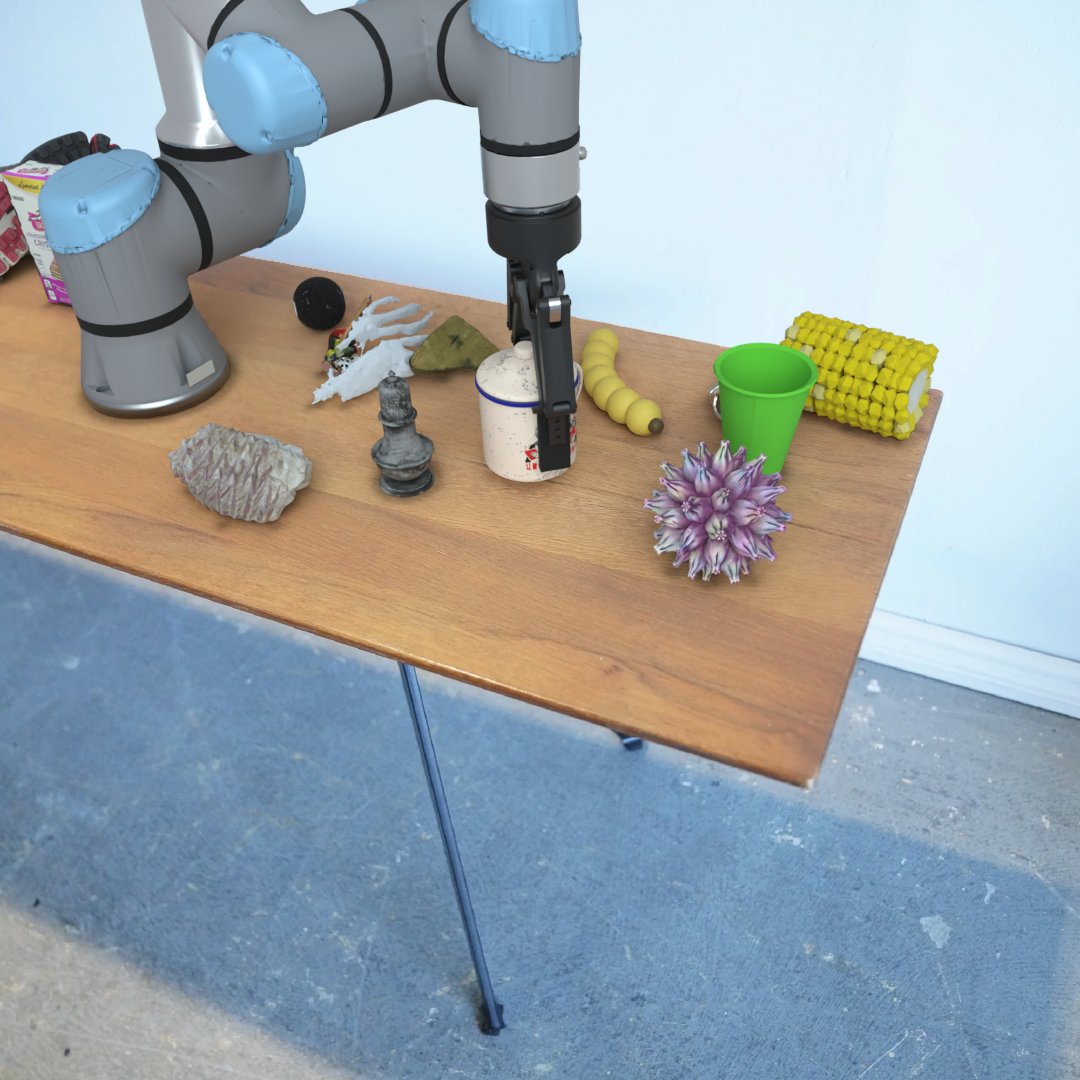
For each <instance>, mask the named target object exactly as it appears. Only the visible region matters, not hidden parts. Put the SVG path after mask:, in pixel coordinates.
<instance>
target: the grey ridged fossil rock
mask: <svg viewBox="0 0 1080 1080" xmlns="http://www.w3.org/2000/svg"><path fill="white" fill-rule="evenodd" d="M166 457H167V459H169V461H170V463H169V467H170V470H171V472H172V473H173V478H179V480H180V482H181V483H183V484H184V485H185V486H186V488H187V490H188V491H189V493H190V495H192V496H193V498H194V499H195V500H196V501H197V502H200V504H201V505H202V506H203V507H208V509H209V510H210V511H216V512H218V513H219V515H220V516H221V515H222V516H228V517H231V518H232V519H233V520H237V519H239V520H240V519H241V520H243V521H245V522H251V521H254V522H256V523H258V524H265V523H266V522H275V521H276V520H278V519H279V518H280V517H281V515H282V512H283V510H284V509H285V508H286V507H287V506H288V505H290V503H292V502H293V501H294V500H295V496H296V492H297V491H300V490H302V489H304V488H306V487H307V486H309V485H310V481H311V480H310V479H311V476H312V475H313V471H312V470H313V468H314V466H313V461H312V459H308V457H306V456H305V455H304V450H303V449H302V448H301V446H299V445H293V444H290V443H287V444H286V445H285V442H282V441H281V440H280V439H278V438H276V437H274V436H271V435H267V434H259V433H254V432H253V433H251V432H244V431H242V430H236V429H235V428H234V426H231V427H228V428H226V427H225V426H224V425H220V424H218V423H215V422H214V423H212V422H208V423H207V425H205V426H202V425H201V426H199V428H198V429H197V431H196V432H195V433H194V434H193V435H191V436H190V437H189V438H183V439H182V441H181V442H180V445H179V447H178V448H177V449H175V450H174V451H171V452H168V454H167V456H166Z"/></svg>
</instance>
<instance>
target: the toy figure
mask: <svg viewBox="0 0 1080 1080" xmlns="http://www.w3.org/2000/svg"><path fill="white" fill-rule="evenodd" d="M372 296H373V294H370V295H367V296H365V298H364V300H363V302H362V304H361V305H360V306H359V308H358V310H357V312H356V313H355V315H354V316H353V318H352V319H351V320H350V322H349V324H348V325H347V327H346V328H334V330H333V331H331V332H330V334H329V335H328V339H327V350H326V351H327V352H326V354H325V355H324V358H323V361H322V362H321V363H320V369H321V371H320V375H322V376H323V374H324V373H325V372H326V373H329V369H330V368H332V369H333V372H334V374H333V376H334V377H337V376H338V375H339V373H340V371H339V370H338V368H341V369H342V367H344V366H343V364H341V366H340V365H338V364H337V363H339V362H341V361H343V362H344V360H345V361H346V362H350V361H349V360H348V359H350V360H351V362H354V361H355V360H356V357H359V355H358V352H359V351H358V349H357V346H358V341H357V342H356V340H355V339H354V340H352V341H351V343H350V344H349V345H348V347H347V348H345V349H343V350H341V351H340V350H339V348H335V347H336V346H338V345H339V344H340V343H341V342H342V341H343V340H345V339H346V338H348V336H349V332H350V331H351V330H352V323H353V321H358V317H362V316H363V310H365V308H366V307H369V305H371V304H372V303H373V297H372ZM355 344H357V346H355ZM343 357H345V359H342V358H343ZM345 366H346V367H347V368H348V365H347V364H346V365H345ZM347 368H346V369H347ZM334 370H337V371H338V372H336V371H334Z"/></svg>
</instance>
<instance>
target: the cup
mask: <svg viewBox="0 0 1080 1080" xmlns="http://www.w3.org/2000/svg"><path fill="white" fill-rule="evenodd" d="M779 344H780V343H779ZM779 344H778V343H772V342H747V343H743V344H738V345H735V346H732V347H729V348H728V349H726V350H724V351H723V352H721V353H720V354H719V355H718V356H717V357H716V358H715V360H714V363H713V365H712V367H713V374H714V375H715V377H716V379H717V380H718V385H719V397H720V409H721V421H720V422H721V430H722V431H721V432H722V440H726V441H728V440H729V442H730V450H731V453H732V455H734V454H735V453H736V452H737V451H738V449H739V447H740V446H742V445H743V446H745V448H747V453H746V462H748V461H751V460H754V459H755V458H756V457H758V455H759V454H760V453H763V454H765V456H767V459H766V461H765V462H764V464H763V470H762V474H773V473H776V472H779V474H781V472H782V470H783V467H784V464H785V461H786V458H787V456H788V453H789V450H790V447H791V444H792V442H793V439H794V436H795V433H796V430H797V428H798V424H799V422H800V419H801V416H802V413H803V408H804V405H805V402H806V399H807V396H808V393H809V391H810V388H811V387H812V386H813V385H814V384H815V382H816V381H817V379H818V375H819V374H818V369H817V366H816V364H815V363H814V362H813V360H812V359H811V358H810V357H808V356H807V355H806V354H804V353H802V352H800V351H798V350H796V349H794V348H791V347H788V346H784V345H779Z"/></svg>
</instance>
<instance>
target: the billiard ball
mask: <svg viewBox="0 0 1080 1080" xmlns="http://www.w3.org/2000/svg"><path fill="white" fill-rule="evenodd" d="M292 306H293V310H294V313H295V315H296V317H297V319H298V320H299V322H300V323H301V324H302V325H304V326H305V327H306V328H309V329H311V330H314V331H327V330H331V329H333V328H334V327H336V326H337V325H339V324H340V323H341V322H342V320H343V319H344V317H345V315H346V309H347V301H346V297H345V294H344V291H343V290H342V288H341V286H340V285H339V284H338V283H337V282H336V281H334V280H333V279H331V278H328V277H325V276H311V277H308V278H305V280H303V281H301V282H300V283H299V284H298V285H297V286H296V288H295V289H294V292H293V296H292Z"/></svg>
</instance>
